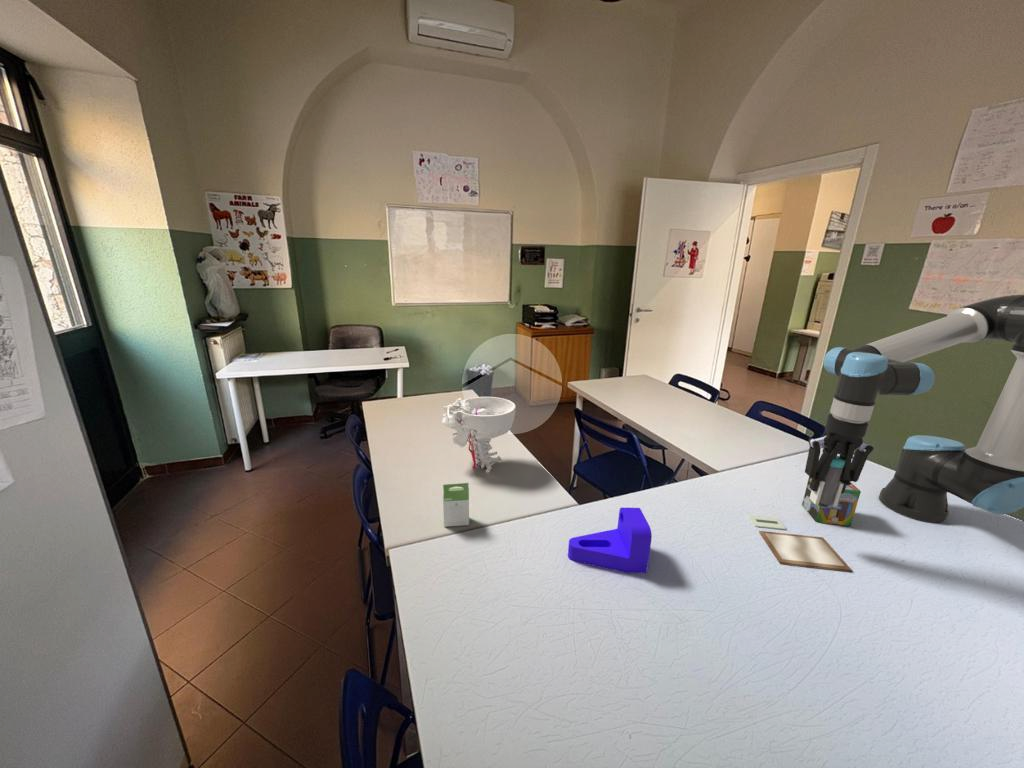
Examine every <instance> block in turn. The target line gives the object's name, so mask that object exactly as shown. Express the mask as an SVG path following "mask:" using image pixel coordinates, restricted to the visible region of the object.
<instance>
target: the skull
mask: <svg viewBox="0 0 1024 768" xmlns="http://www.w3.org/2000/svg"><path fill="white" fill-rule="evenodd" d="M443 409H444V410H445V413H444V414H442V416H443V417H442V420H441V423H442V424H443V425H444V426H446V427H447V428H449V429H451V430H453V429H454V431H455V432H456V433H452V442H453V444H454V445H458V446H459V447H460V448H464V447H465V446H466V445H467V444H468V451H469V452H470V454H471V458H472V462H473V465H472V469H475V468H476V465H478V468H480V467H481V469H484V468H486V469H485V472H486V473H491V471H492V465H494V464H496V463H495V462H502V457H501V456H500V455H498V451H494V452H490V450H492V449H493V446H492V444H490V443H491V440H492V439H494V438H497V437H500V436H503V435H506V434H507V433H509V431H510V430H511V428H512V426H513V424H514V421H515V416H516V404H515V403H514V402H513V401H511V400H509V399H506V398H503V397H502V398H501V397H496V396H476V397H470V398H466V399H463V398H462V397H459V398H457V399H456V400H455V402H453V403H450V404H448V405H445V406H443ZM496 455H498V456H497V457H493V456H496Z"/></svg>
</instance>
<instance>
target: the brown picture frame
mask: <svg viewBox="0 0 1024 768" xmlns="http://www.w3.org/2000/svg"><path fill="white" fill-rule="evenodd" d="M758 533H759V534H760V535H759V536H761V538H762V540H763V541H764V543H765V544H766V546H767V547H768V548H769V550H770V551H771V553H772V555H774V557H775V559H776V561H778V563H779V564H780V565H788V566H796V567H805V568H814V569H822V570H829V571H839V572H840V571H841V572H847V573H848V572H849V573H851V572H852V571H853V570H852V568H851V567H850V566H849V565H848V564H847V563H846V561H845V560H844V559H843V557H841V556H840V555H839V554H838V552H836V550H835V549H834V548H833V547H832V546H831V544H829V542H828V541H827V540H826V539H825V538H824V537H823V536H814V535H813V536H812V535H802V534H793V533H785V532H776V531H775V532H773V531H766V530H765V531H764V530H759V531H758Z"/></svg>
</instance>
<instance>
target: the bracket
mask: <svg viewBox="0 0 1024 768" xmlns="http://www.w3.org/2000/svg"><path fill="white" fill-rule="evenodd" d="M618 511H619V512H618V518H617V519H618V521H617V527H616V528H613V529H610V530H604V531H598V532H595V533H590V534H584V535H579V536H575V537H571V538H569V539H568V546H567V547H568V548H567V549H568V551H567V558H568V559H569V560H570V561H571V562H574V563H579V564H584V565H588V566H593V567H598V568H602V569H607V570H612V571H617V572H620V573H621V572H622V573H625V574H647V572H648V566H649V558H650V551H651V546H652V545H651V544H652V529H651V526H650V525H649V522H648V521H647V519H646V517H645V515H644V513H643V510H642V509H641V508H640V507H620V508H619V510H618Z"/></svg>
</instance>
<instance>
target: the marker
mask: <svg viewBox="0 0 1024 768" xmlns="http://www.w3.org/2000/svg"><path fill="white" fill-rule="evenodd" d="M844 464H845V460H844V459H843V458H841V457H840V455H837V456H836V458H834V459H833V460H832V462H831V464H830V466H829V468H828V470H827V472H826V474H825V475H824V477H823V479H822V480H823V481H824V482H825V484H824V488H823V491H822V494H821V498H820V501H819V504H818V505H820V506H822V507H828V506H829V505H831V504H832V502H833V499H834V496H835V492H836V489H837V486H838V483H839V480H840V476H841V473H842V470H843V467H844Z"/></svg>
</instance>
